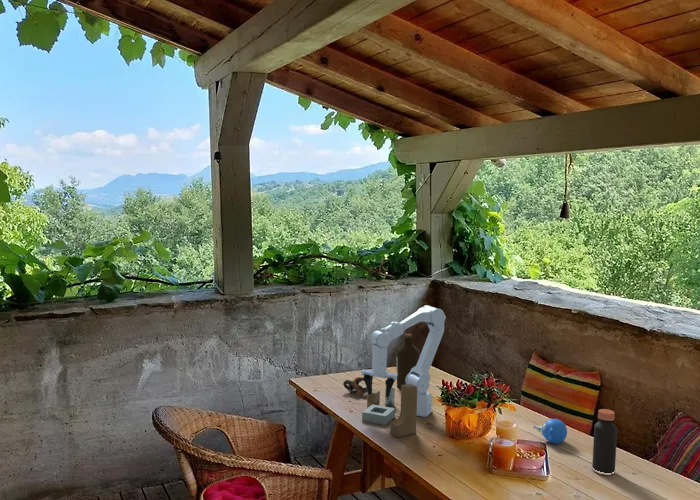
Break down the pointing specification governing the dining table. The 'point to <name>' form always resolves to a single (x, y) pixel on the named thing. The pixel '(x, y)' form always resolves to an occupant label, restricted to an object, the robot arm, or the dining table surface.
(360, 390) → the pottery mug
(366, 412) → the socket block
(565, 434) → the blue rubber bulb blower
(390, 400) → the round peg
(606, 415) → the bottle
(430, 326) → the robot arm
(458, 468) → the dining table surface
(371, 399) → the square peg
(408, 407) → the brown boot
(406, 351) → the olive oil
